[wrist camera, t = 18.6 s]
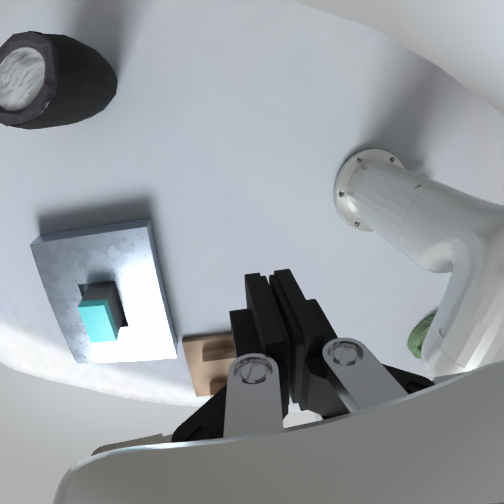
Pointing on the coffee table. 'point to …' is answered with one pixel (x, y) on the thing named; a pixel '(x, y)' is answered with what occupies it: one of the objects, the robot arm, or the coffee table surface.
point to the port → (108, 269)
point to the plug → (102, 311)
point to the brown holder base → (209, 361)
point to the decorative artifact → (419, 336)
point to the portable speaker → (51, 81)
